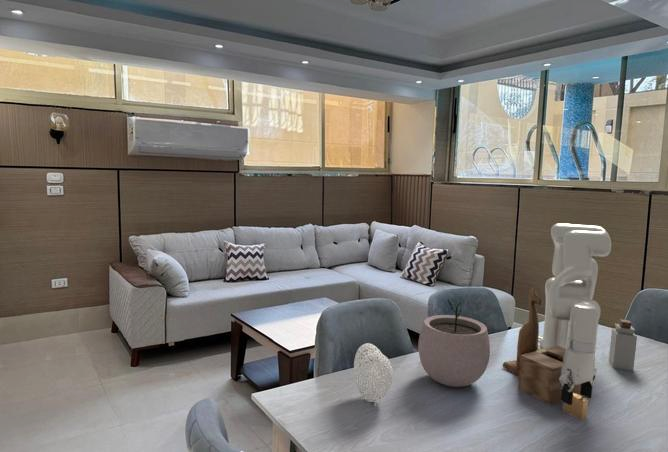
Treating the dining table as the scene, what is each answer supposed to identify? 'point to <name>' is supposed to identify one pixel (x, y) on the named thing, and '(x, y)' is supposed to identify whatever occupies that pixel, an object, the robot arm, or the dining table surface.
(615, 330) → the perfume bottle
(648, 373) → the dining table surface
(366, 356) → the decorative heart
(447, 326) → the plant pot
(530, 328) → the bird sculpture
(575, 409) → the tan flat square block
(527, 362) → the box
